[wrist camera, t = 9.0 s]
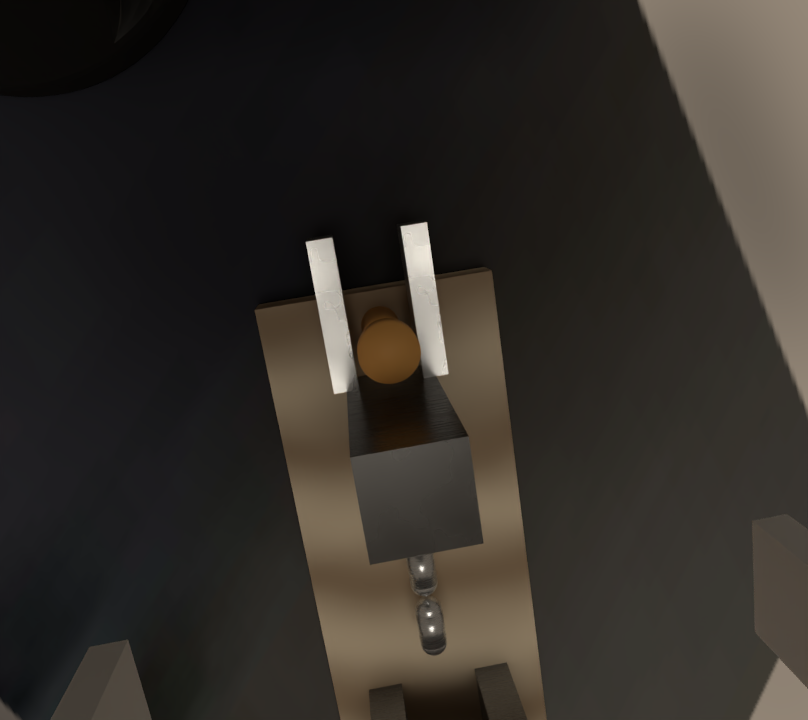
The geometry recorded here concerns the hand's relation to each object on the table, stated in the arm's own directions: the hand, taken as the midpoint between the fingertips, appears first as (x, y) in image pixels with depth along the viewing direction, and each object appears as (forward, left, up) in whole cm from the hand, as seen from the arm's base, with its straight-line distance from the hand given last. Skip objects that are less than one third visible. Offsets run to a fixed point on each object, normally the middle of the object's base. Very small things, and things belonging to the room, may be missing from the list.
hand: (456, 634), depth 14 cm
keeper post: (-4, 0, -16) cm, 17 cm away
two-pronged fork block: (+2, 0, -16) cm, 16 cm away
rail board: (+8, 0, -18) cm, 19 cm away
